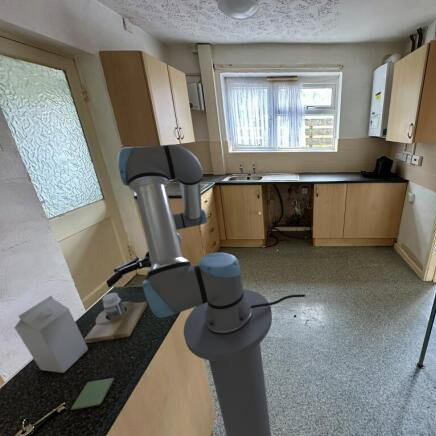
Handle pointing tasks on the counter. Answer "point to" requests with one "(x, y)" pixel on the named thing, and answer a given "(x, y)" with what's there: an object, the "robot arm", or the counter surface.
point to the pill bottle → (113, 306)
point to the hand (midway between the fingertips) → (126, 284)
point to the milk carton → (51, 335)
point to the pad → (93, 393)
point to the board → (116, 323)
